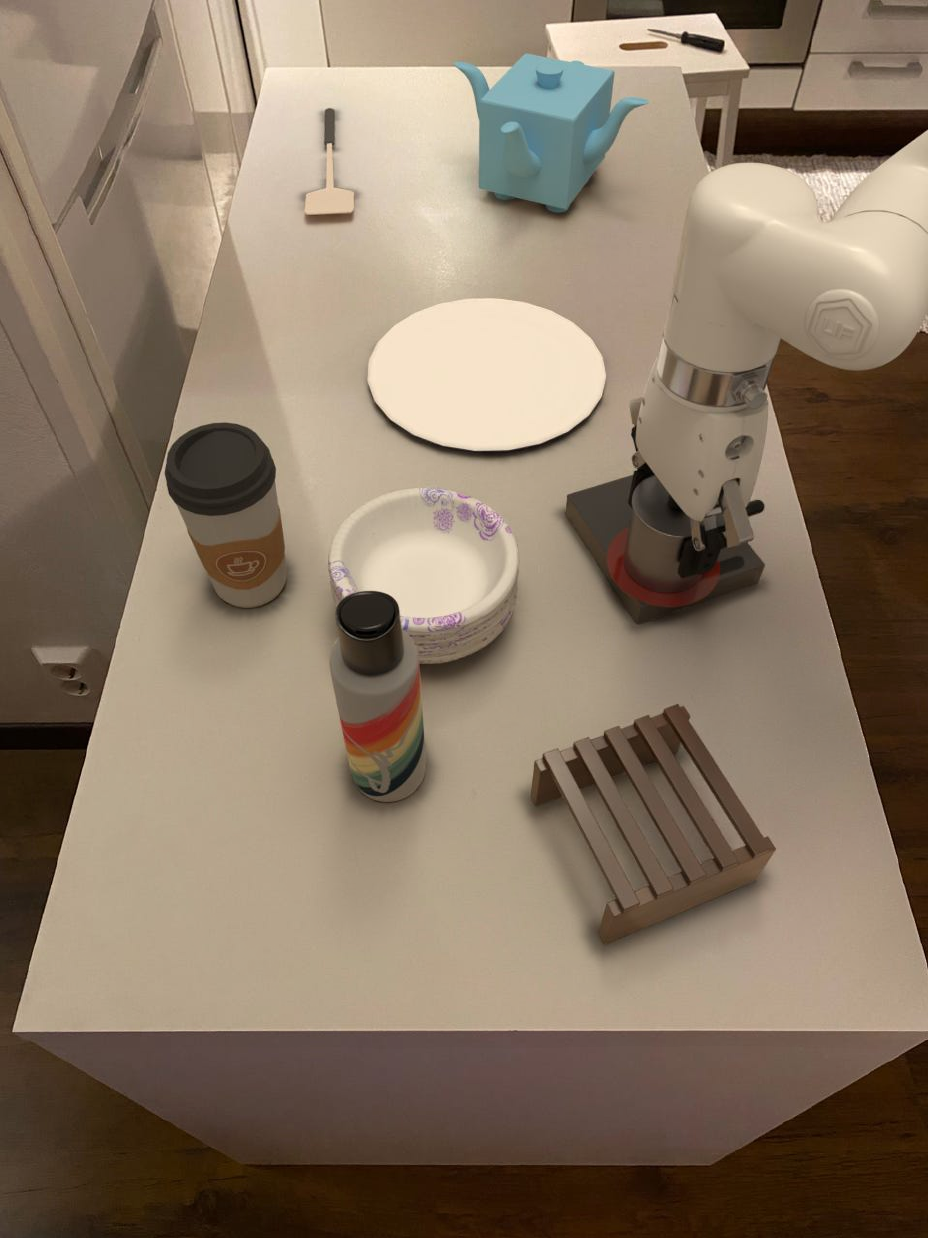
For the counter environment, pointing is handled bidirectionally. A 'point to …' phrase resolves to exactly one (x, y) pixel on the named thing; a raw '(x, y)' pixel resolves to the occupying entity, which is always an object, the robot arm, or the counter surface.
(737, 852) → the drying rack
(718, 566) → the burner ring
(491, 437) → the plate
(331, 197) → the spatula
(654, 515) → the saucepan
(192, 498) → the coffee cup
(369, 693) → the lotion bottle
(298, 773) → the counter surface
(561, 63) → the teakettle
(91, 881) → the counter surface
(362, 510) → the paper bowls
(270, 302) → the counter surface
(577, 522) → the hob
